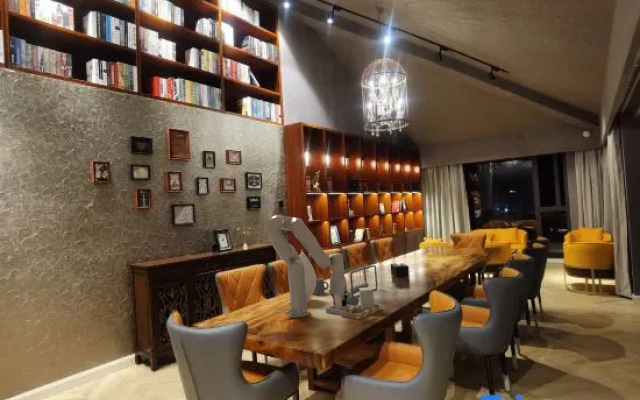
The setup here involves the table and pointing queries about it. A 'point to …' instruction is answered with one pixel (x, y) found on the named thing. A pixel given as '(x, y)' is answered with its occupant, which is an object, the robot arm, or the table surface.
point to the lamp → (308, 276)
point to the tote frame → (335, 311)
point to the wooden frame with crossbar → (360, 311)
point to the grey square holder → (352, 301)
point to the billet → (338, 302)
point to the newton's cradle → (365, 285)
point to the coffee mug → (320, 286)
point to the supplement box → (366, 298)
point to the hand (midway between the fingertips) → (340, 305)
